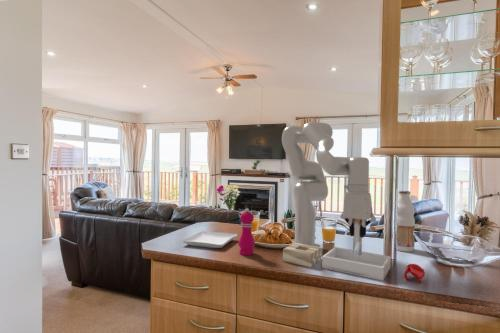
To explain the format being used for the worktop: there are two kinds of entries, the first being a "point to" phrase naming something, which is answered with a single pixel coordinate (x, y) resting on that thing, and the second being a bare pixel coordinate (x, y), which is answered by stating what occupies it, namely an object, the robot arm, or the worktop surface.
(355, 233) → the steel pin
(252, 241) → the pepper mill
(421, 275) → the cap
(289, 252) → the pin block
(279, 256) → the worktop surface
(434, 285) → the worktop surface
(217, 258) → the worktop surface
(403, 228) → the fruit juice
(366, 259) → the tray
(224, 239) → the salad plate
